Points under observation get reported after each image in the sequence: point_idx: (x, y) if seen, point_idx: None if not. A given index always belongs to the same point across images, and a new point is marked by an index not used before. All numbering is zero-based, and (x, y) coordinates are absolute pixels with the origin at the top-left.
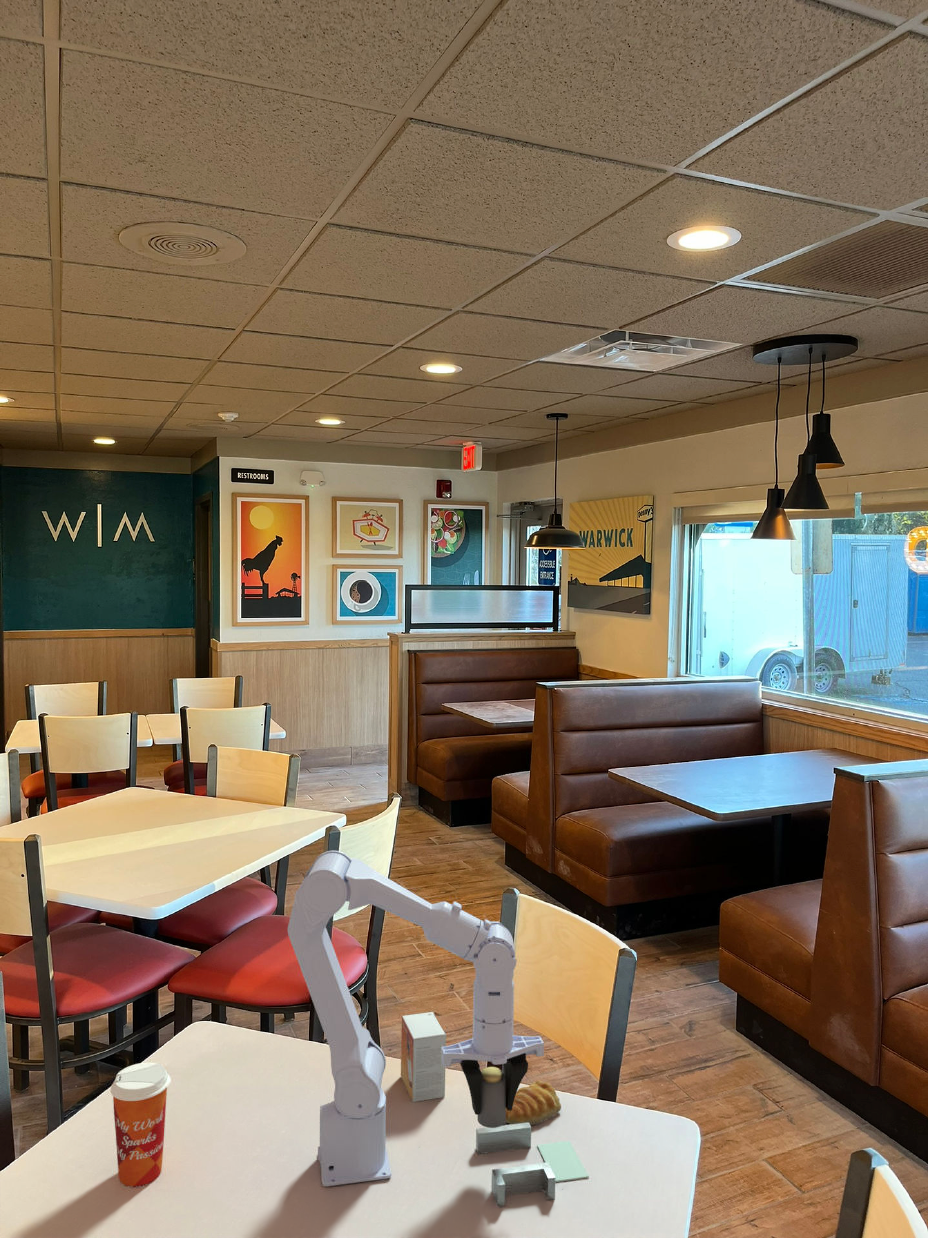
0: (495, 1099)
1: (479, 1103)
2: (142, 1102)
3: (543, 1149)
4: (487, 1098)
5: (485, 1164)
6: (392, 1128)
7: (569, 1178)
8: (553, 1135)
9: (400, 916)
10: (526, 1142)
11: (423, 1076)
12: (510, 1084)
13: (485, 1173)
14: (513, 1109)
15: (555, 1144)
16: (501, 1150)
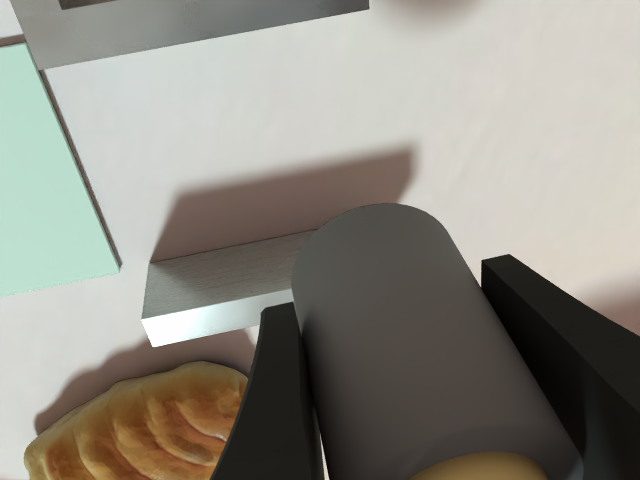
0: (419, 333)
1: (533, 300)
2: None
3: (91, 249)
4: (484, 335)
5: (347, 163)
6: (631, 325)
7: None
8: (52, 331)
9: None
10: (166, 274)
11: None
12: (309, 458)
13: (355, 109)
14: (217, 417)
15: (38, 279)
16: (273, 240)
